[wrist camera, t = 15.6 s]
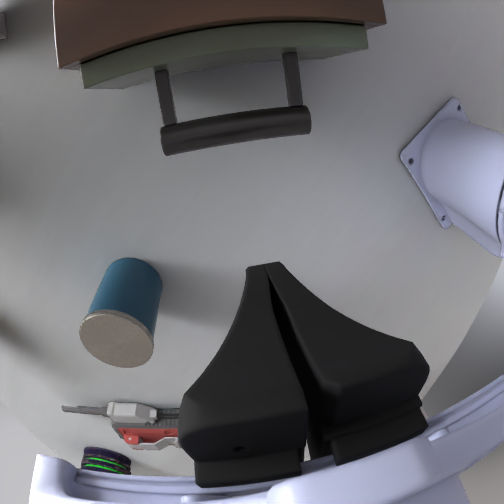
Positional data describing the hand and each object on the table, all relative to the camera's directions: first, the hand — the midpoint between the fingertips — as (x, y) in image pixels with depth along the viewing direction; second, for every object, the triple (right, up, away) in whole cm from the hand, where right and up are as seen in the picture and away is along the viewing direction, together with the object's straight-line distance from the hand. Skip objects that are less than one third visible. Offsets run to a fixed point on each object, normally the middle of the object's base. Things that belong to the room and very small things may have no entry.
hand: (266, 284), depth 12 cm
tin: (-10, -1, +10) cm, 14 cm away
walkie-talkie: (-16, -20, +21) cm, 33 cm away
